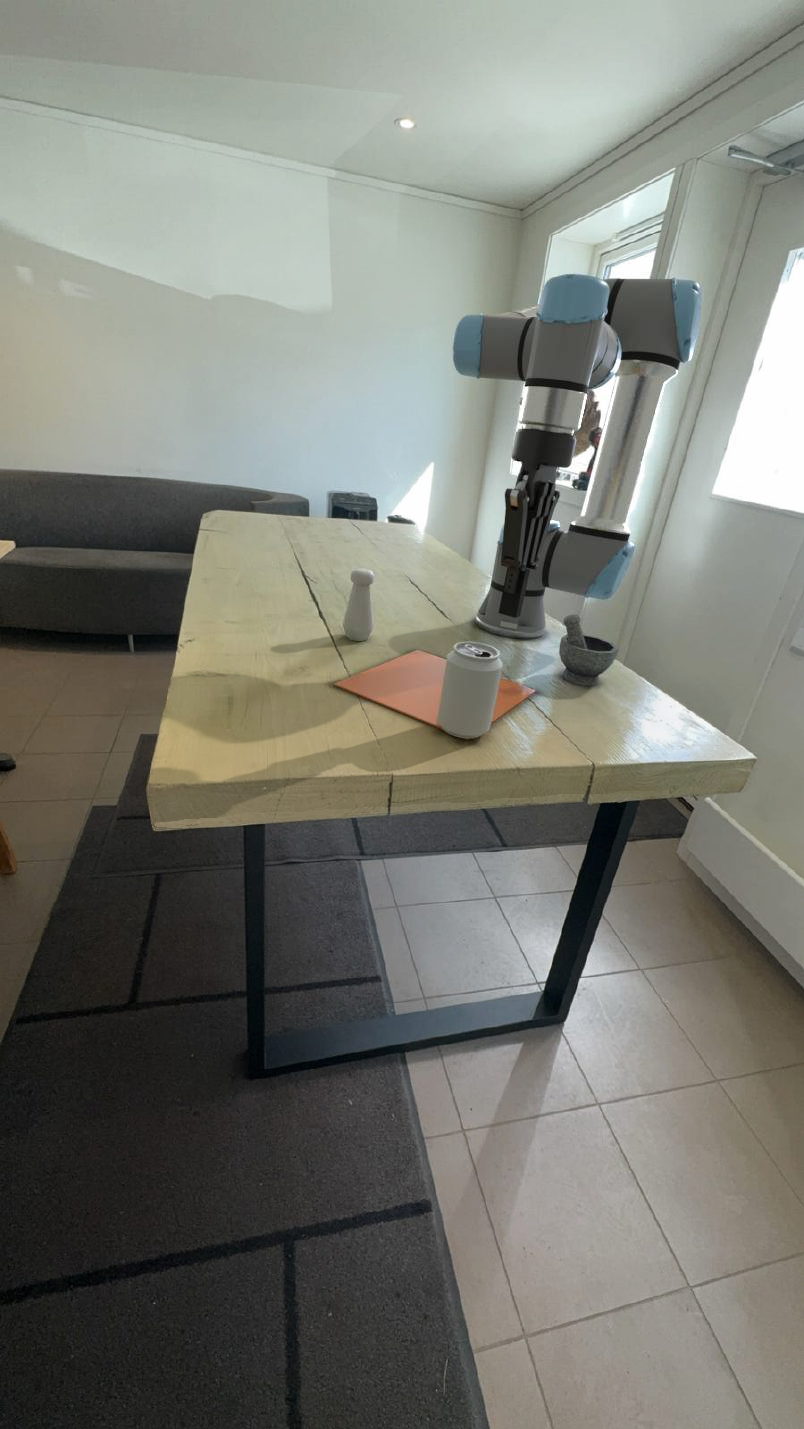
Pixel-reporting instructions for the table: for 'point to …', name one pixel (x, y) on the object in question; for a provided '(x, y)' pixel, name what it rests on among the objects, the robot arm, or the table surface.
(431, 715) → the orange square board
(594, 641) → the mortar and pestle
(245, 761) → the table surface
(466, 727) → the can
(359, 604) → the salt shaker
